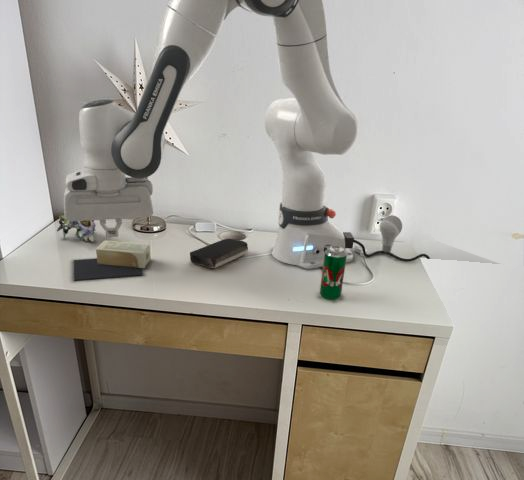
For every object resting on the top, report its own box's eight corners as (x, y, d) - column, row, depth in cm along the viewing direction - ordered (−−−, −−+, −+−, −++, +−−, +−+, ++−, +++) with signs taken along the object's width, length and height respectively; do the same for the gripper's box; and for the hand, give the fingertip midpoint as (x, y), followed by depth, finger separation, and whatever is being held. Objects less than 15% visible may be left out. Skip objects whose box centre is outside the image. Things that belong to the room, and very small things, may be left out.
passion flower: (92, 259, 148) (88, 236, 137) (53, 251, 146) (46, 227, 135) (101, 227, 152) (98, 201, 141) (63, 218, 150) (57, 192, 139)
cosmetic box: (151, 259, 136) (106, 254, 137) (150, 243, 133) (104, 239, 134) (143, 269, 130) (97, 264, 131) (142, 253, 128) (94, 248, 129)
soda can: (338, 291, 126) (345, 245, 119) (342, 301, 122) (349, 253, 115) (318, 291, 126) (324, 244, 119) (320, 300, 121) (326, 252, 115)
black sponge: (211, 273, 131) (211, 260, 129) (187, 264, 135) (186, 250, 133) (250, 255, 142) (251, 242, 140) (227, 247, 146) (227, 234, 144)
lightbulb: (387, 259, 145) (395, 221, 139) (370, 252, 149) (377, 214, 143) (400, 254, 148) (408, 217, 142) (383, 247, 152) (390, 211, 146)
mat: (137, 256, 138) (137, 255, 137) (142, 275, 128) (142, 274, 128) (74, 261, 133) (73, 260, 133) (74, 280, 124) (74, 279, 123)
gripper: (150, 173, 123) (153, 229, 131) (59, 175, 118) (68, 233, 125) (153, 180, 118) (157, 238, 126) (58, 183, 113) (68, 243, 120)
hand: (112, 236), depth 126 cm, fingers closed
